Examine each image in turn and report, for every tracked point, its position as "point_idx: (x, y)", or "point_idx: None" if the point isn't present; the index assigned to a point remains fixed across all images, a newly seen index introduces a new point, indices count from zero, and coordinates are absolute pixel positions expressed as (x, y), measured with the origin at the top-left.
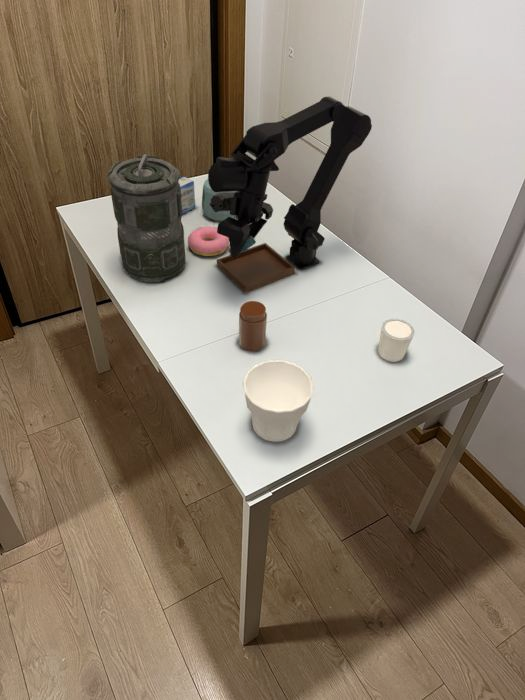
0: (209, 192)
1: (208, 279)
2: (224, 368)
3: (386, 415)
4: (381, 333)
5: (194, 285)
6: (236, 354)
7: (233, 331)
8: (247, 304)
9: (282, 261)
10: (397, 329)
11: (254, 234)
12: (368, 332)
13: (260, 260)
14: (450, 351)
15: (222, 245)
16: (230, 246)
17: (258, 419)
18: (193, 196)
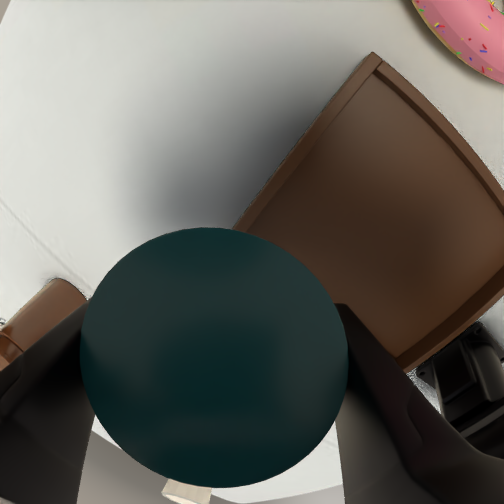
0: None
1: (244, 59)
2: (8, 269)
3: (103, 436)
4: (174, 486)
5: (177, 30)
6: (34, 281)
7: (66, 258)
8: (4, 362)
9: (440, 333)
10: (183, 501)
11: (345, 456)
12: None
13: (454, 248)
14: (238, 493)
15: (485, 61)
16: (33, 348)
17: None
18: None
